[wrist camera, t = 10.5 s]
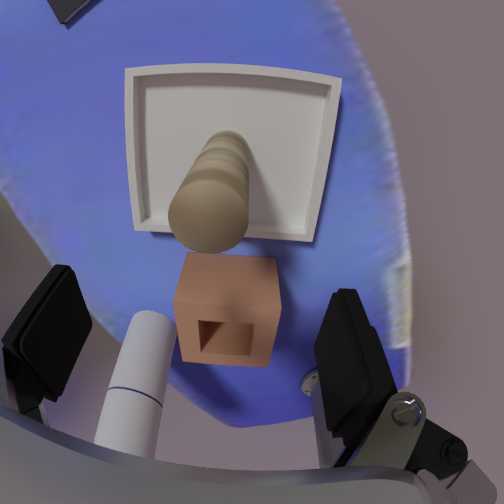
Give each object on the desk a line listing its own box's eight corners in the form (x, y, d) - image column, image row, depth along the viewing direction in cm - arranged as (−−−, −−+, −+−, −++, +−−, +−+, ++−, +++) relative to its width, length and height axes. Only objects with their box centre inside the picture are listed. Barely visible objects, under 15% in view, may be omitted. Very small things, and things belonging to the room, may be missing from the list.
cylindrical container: (184, 322, 39) (155, 499, 18) (169, 347, 42) (142, 498, 22) (137, 303, 37) (85, 478, 16) (127, 330, 40) (85, 480, 20)
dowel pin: (247, 173, 26) (245, 256, 15) (204, 171, 25) (170, 251, 15) (250, 131, 23) (252, 184, 13) (205, 129, 23) (165, 180, 13)
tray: (308, 229, 30) (312, 241, 28) (142, 218, 29) (134, 230, 27) (334, 78, 21) (342, 78, 19) (135, 68, 20) (125, 68, 18)
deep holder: (265, 317, 38) (268, 366, 31) (191, 312, 38) (182, 361, 31) (275, 257, 32) (281, 308, 26) (187, 252, 32) (172, 301, 25)
